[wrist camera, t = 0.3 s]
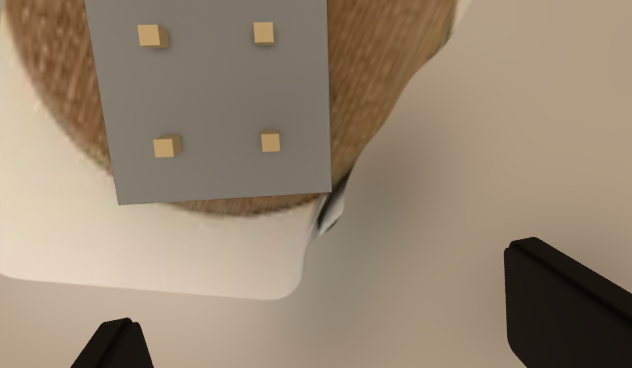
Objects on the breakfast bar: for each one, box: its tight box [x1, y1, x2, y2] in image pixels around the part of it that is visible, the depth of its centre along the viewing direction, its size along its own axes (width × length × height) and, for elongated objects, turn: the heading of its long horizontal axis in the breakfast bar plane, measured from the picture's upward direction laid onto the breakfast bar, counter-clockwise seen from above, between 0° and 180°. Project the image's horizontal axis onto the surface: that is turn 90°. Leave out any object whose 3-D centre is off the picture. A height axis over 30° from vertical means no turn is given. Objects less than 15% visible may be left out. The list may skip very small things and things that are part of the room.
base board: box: [84, 0, 332, 205], centre depth 35 cm, size 20×20×4 cm
